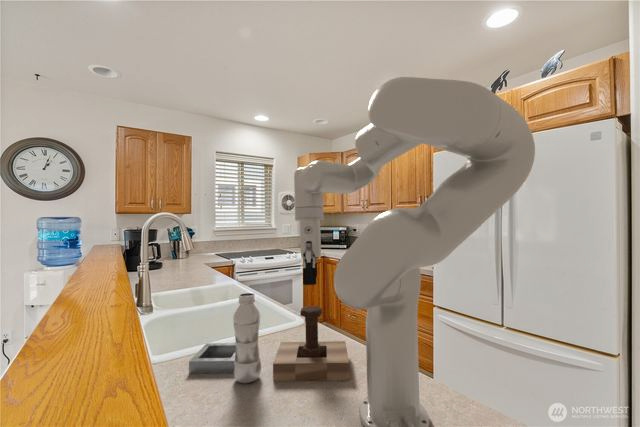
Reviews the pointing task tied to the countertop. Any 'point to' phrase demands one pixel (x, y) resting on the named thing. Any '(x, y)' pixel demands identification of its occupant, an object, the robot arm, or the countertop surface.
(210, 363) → the frame
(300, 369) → the wooden block with hole
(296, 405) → the countertop surface
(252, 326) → the plastic bottle
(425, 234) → the robot arm
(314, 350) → the bolt
